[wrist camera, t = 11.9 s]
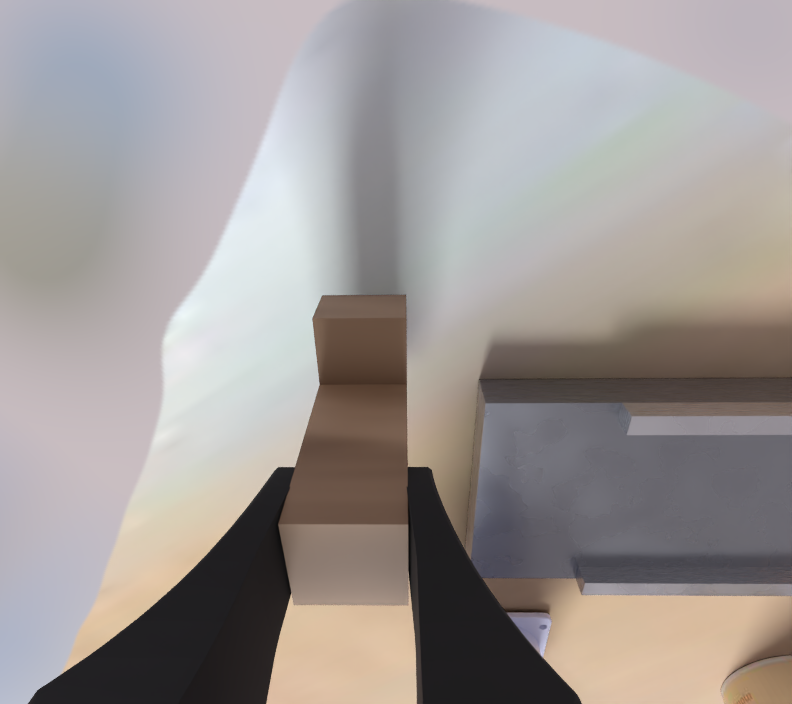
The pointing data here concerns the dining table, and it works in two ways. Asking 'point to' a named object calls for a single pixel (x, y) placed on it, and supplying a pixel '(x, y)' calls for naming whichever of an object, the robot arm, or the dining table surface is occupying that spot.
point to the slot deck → (635, 484)
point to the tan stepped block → (353, 461)
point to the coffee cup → (760, 683)
